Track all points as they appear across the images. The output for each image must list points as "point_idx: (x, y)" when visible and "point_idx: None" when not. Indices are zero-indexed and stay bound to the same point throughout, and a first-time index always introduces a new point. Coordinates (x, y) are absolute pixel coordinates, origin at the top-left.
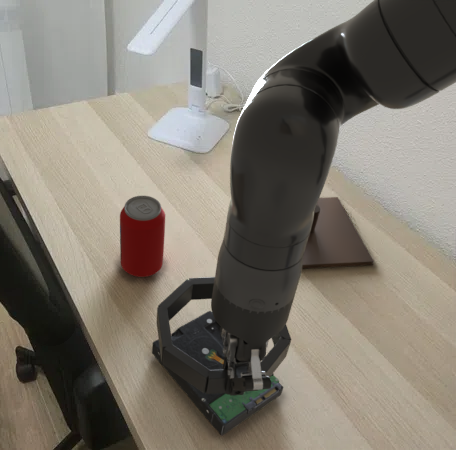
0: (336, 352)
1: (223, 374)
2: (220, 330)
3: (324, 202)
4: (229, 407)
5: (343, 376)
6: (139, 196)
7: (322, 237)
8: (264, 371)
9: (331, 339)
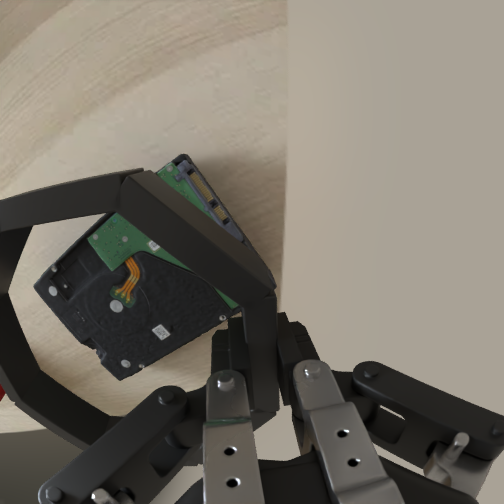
0: (97, 40)
1: (268, 387)
2: (65, 271)
3: None
4: None
5: (147, 32)
6: None
7: None
8: (461, 446)
9: (70, 48)
